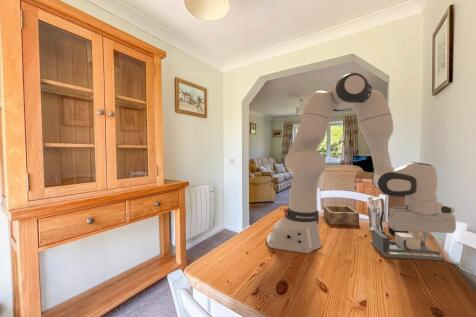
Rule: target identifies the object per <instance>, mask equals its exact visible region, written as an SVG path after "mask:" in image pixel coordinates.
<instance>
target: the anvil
mask: <svg viewBox="0 0 476 317" xmlns="http://www.w3.org/2000/svg"><path fill="white" fill-rule="evenodd" d="M372 240H374V244H375V245H376V246H378V247H379V248H380V249H381V250H382V248H383V250H382V251H383V252H389V240H390V237H388V236H387V235H386V234H385V233H383V232H380V231H379V230H373V231H372Z"/></svg>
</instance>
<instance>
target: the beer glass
mask: <svg viewBox="0 0 476 317" xmlns="http://www.w3.org/2000/svg"><path fill="white" fill-rule="evenodd" d="M385 206H386V205H385V199H384V198H382V197H376V196H375V197H374V196H373V197H372V196H370V197H367V202H366V210H367V216H368V226H367V229H368V230H370V231H372V232H373V230H379V231H380V232H381V233H383V232H384V226H383V222H384V216H385V208H386V207H385Z"/></svg>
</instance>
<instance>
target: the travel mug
mask: <svg viewBox="0 0 476 317" xmlns="http://www.w3.org/2000/svg"><path fill="white" fill-rule="evenodd" d="M394 205H398V206H402V205H403V206H405V195H404V196H389V195H387V221H388V220H389V209H390V208H391V207H393V206H394ZM387 229H388V233H389V234H391V235H394V236H395V233H410V231H394V230H393V229H391V228H390V227H389V226H388V228H387Z"/></svg>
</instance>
